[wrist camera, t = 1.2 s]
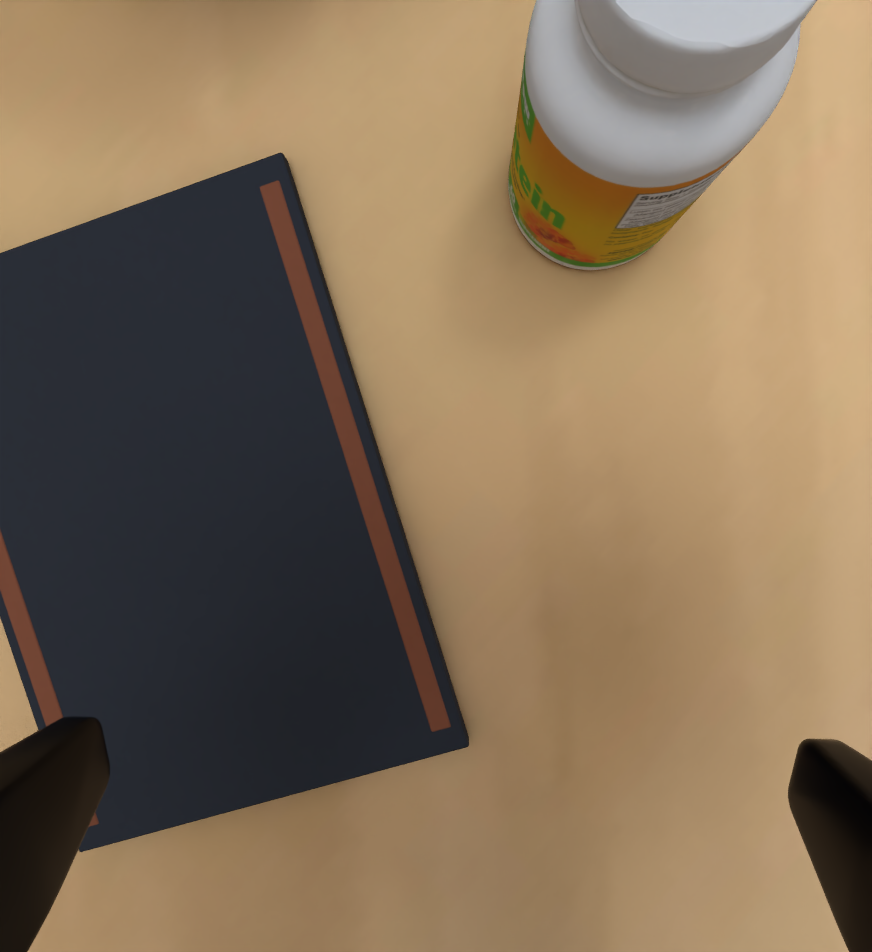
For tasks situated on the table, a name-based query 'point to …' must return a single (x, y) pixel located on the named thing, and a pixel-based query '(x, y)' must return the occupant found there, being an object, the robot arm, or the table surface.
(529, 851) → the table surface
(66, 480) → the placemat
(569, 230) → the supplement bottle
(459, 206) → the table surface
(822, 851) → the robot arm
